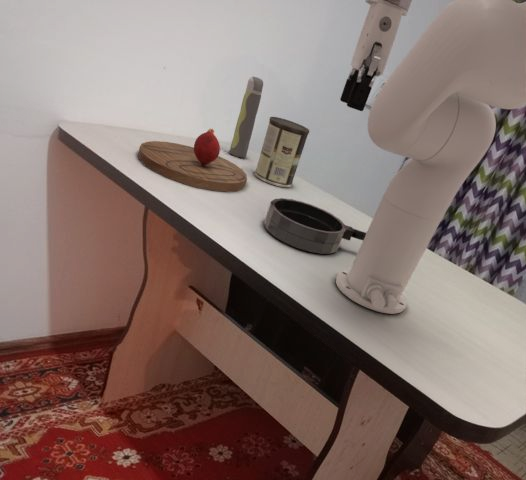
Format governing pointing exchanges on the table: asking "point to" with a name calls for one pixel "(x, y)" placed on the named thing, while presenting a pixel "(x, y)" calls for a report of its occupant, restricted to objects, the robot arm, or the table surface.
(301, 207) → the pan
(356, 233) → the pan handle
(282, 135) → the coffee can
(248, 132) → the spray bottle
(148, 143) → the trivet
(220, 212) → the table surface
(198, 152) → the onion
